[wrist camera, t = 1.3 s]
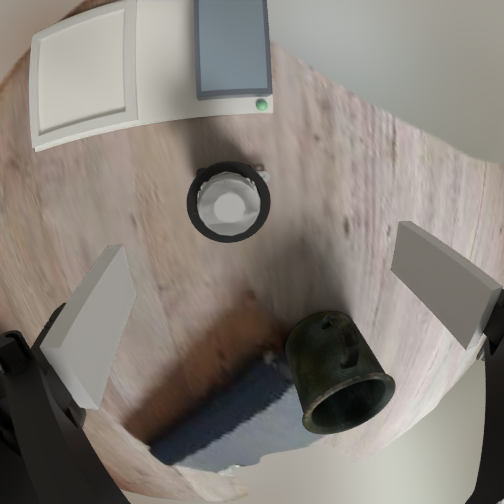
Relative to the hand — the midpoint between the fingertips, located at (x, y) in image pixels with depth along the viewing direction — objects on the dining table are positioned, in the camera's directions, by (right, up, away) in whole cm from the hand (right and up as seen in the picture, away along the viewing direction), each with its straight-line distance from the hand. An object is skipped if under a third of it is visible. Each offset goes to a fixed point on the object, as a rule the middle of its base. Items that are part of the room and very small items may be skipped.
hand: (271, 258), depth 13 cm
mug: (+8, -10, +23) cm, 26 cm away
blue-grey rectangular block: (-3, +19, +7) cm, 20 cm away
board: (-11, +18, +7) cm, 22 cm away
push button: (-3, +7, +14) cm, 16 cm away
